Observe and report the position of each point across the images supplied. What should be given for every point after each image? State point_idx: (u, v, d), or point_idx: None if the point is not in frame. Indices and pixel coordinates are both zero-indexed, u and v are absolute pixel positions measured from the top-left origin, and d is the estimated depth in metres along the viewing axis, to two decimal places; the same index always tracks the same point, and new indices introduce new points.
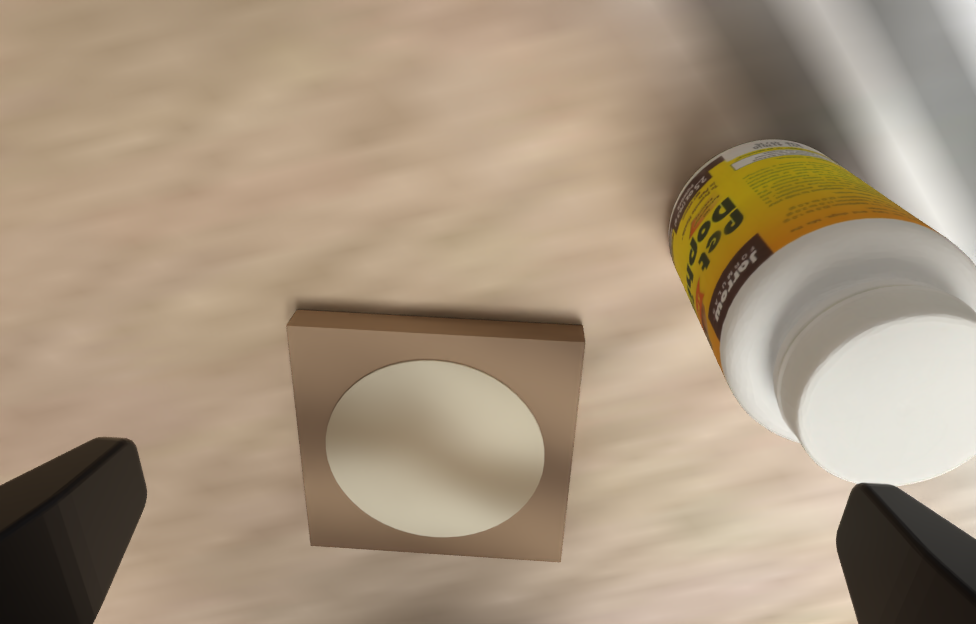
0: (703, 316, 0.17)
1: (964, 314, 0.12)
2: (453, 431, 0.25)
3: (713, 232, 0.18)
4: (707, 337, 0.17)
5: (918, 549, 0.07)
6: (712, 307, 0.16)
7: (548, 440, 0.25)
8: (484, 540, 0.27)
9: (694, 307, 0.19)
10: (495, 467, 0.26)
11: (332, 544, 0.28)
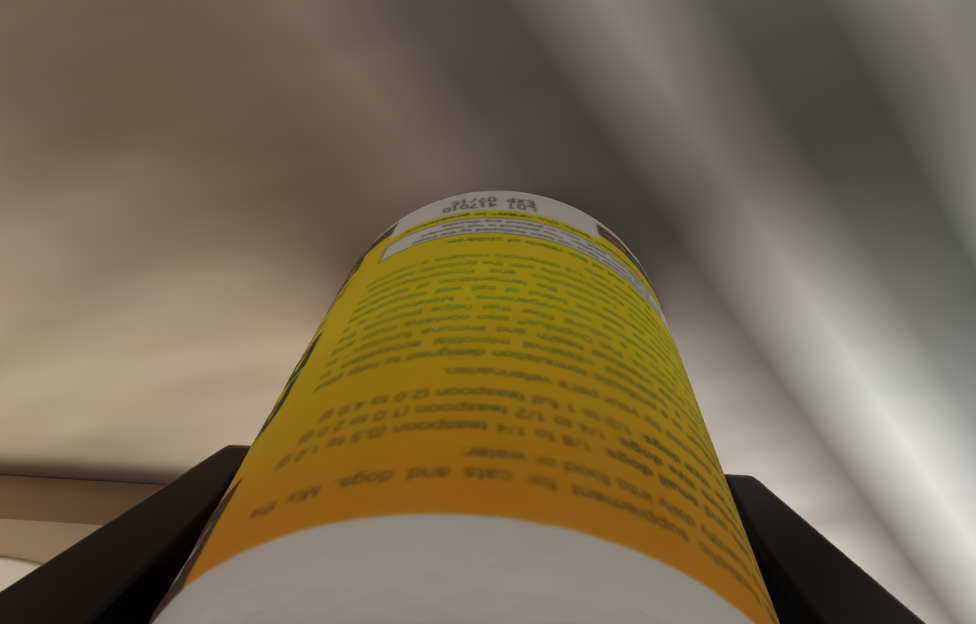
0: None
1: None
2: None
3: None
4: None
5: (756, 539, 0.07)
6: None
7: None
8: None
9: None
10: None
11: None
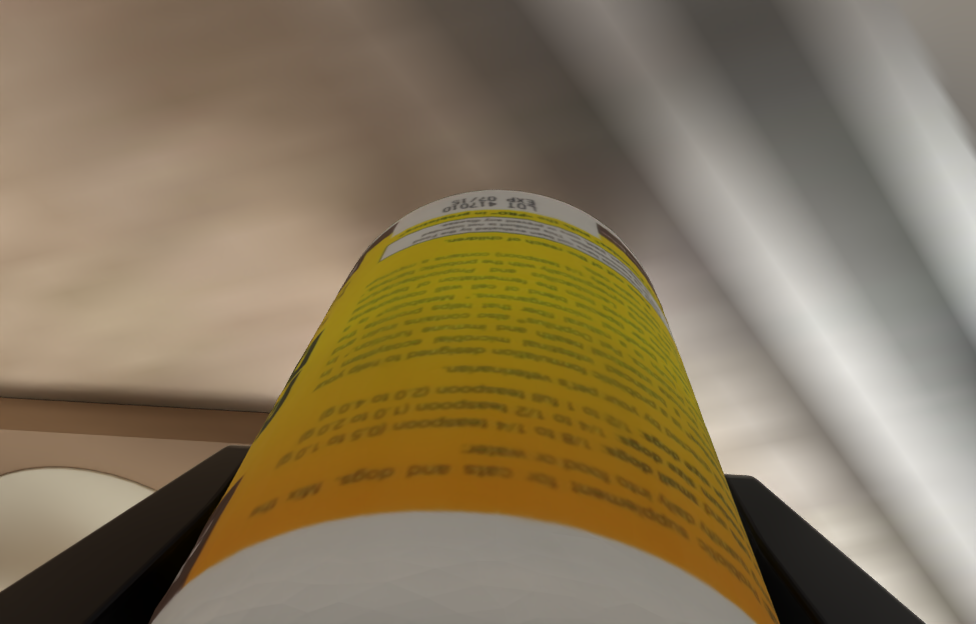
0: None
1: None
2: None
3: None
4: None
5: (756, 539, 0.07)
6: None
7: None
8: None
9: None
10: None
11: None
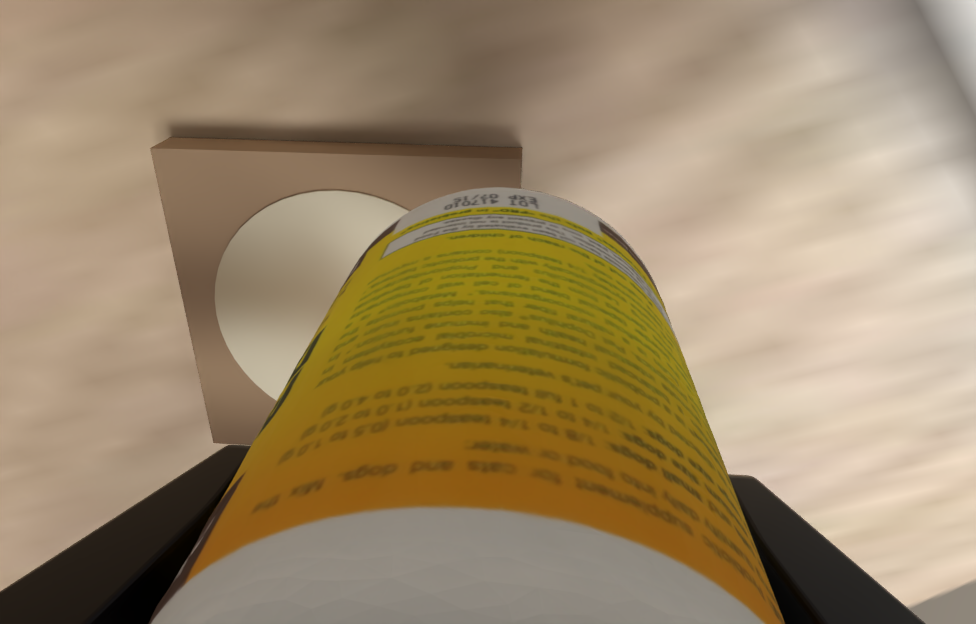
0: None
1: None
2: None
3: None
4: None
5: (756, 539, 0.07)
6: None
7: None
8: None
9: None
10: None
11: (238, 440, 0.23)
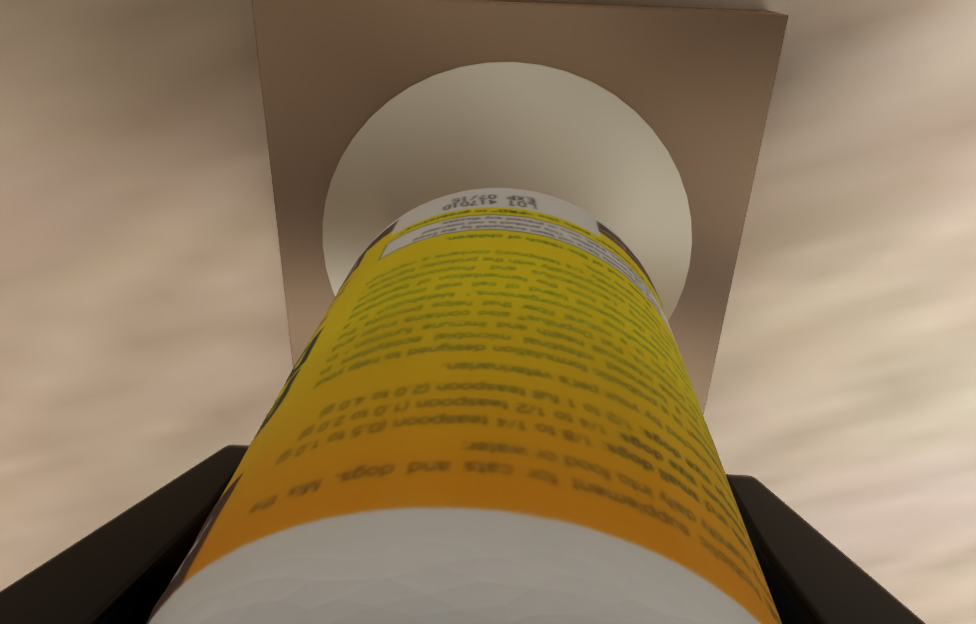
0: None
1: None
2: None
3: None
4: None
5: (755, 538, 0.07)
6: None
7: (700, 223, 0.15)
8: None
9: None
10: None
11: None
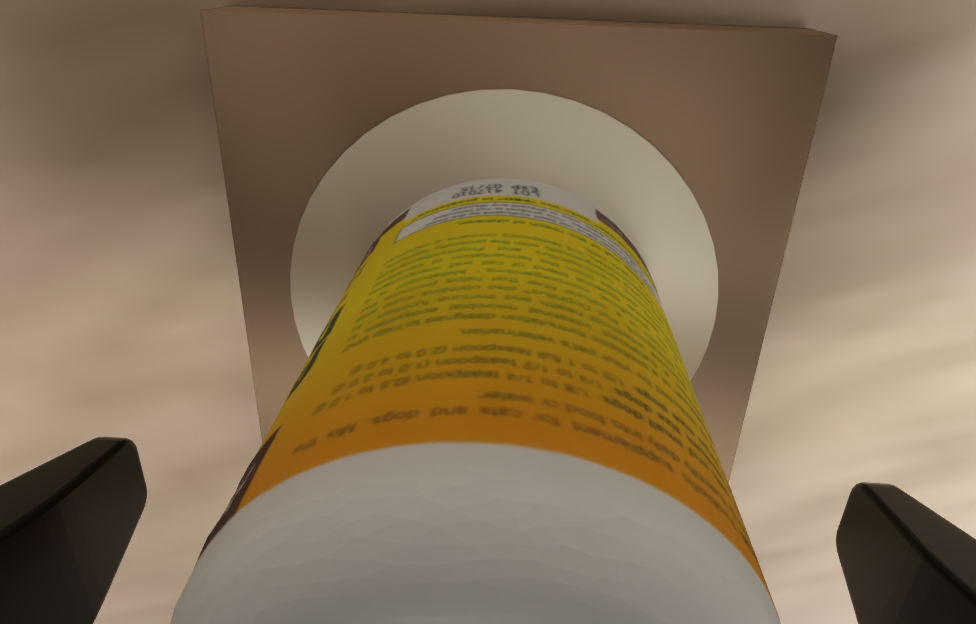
0: None
1: None
2: None
3: (296, 381, 0.09)
4: None
5: (918, 549, 0.07)
6: None
7: (728, 273, 0.13)
8: None
9: None
10: None
11: None
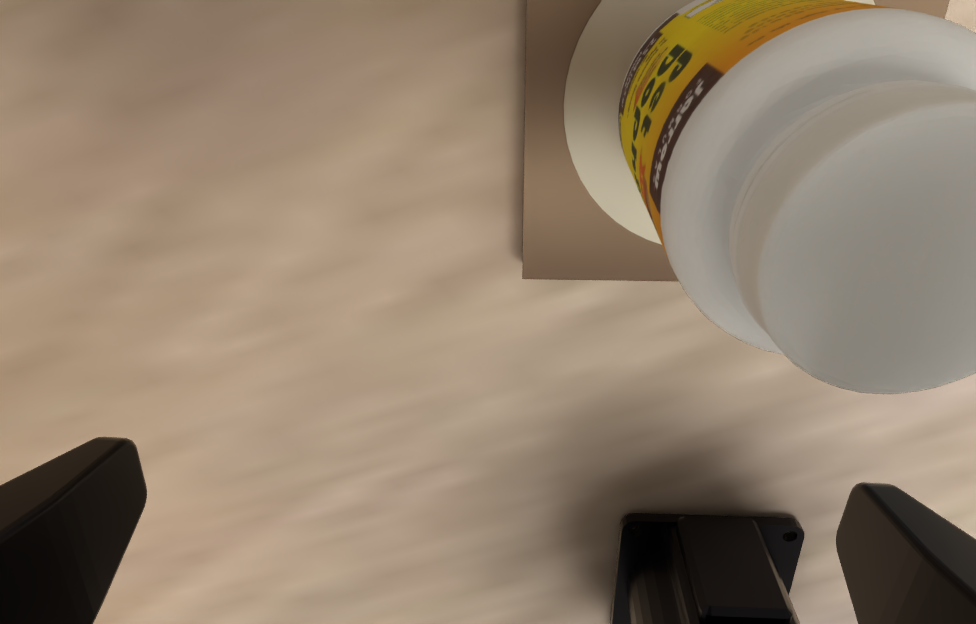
0: (646, 196, 0.13)
1: None
2: None
3: (657, 87, 0.13)
4: (654, 225, 0.13)
5: (918, 549, 0.07)
6: (652, 175, 0.12)
7: None
8: None
9: (641, 196, 0.14)
10: None
11: (553, 274, 0.20)
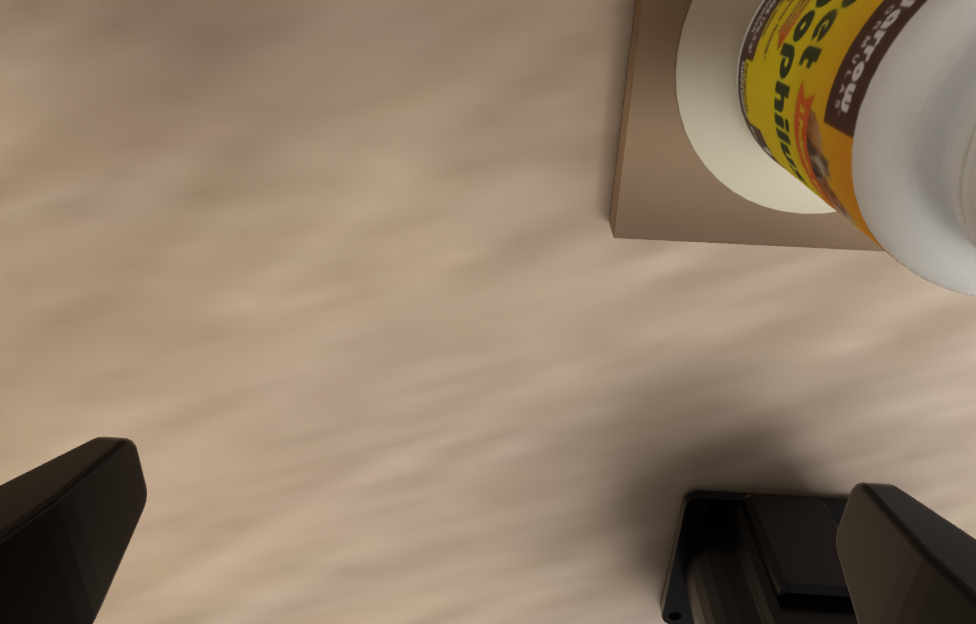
0: (812, 129, 0.12)
1: None
2: None
3: (822, 17, 0.13)
4: (816, 162, 0.12)
5: (918, 549, 0.07)
6: (833, 101, 0.11)
7: None
8: None
9: (788, 137, 0.14)
10: None
11: (646, 234, 0.19)
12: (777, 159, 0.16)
